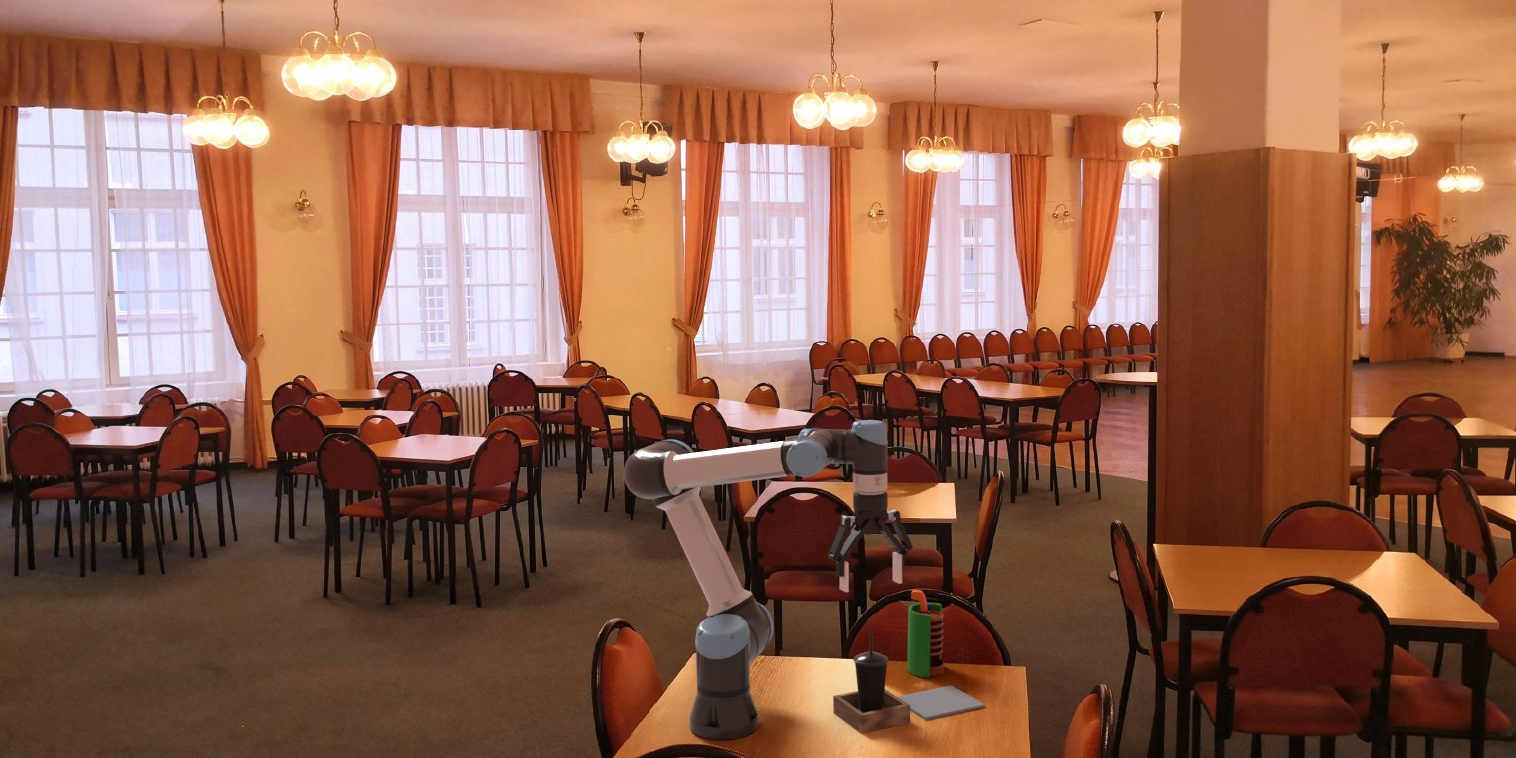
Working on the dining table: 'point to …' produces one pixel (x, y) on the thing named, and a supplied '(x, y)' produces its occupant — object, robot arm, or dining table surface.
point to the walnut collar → (871, 712)
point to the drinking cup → (871, 678)
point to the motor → (925, 637)
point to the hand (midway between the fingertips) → (871, 586)
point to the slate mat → (940, 702)
